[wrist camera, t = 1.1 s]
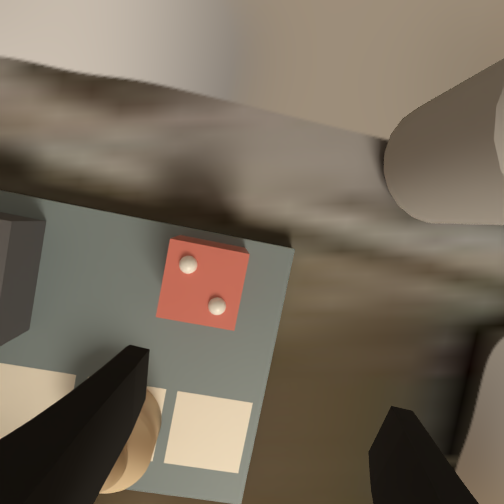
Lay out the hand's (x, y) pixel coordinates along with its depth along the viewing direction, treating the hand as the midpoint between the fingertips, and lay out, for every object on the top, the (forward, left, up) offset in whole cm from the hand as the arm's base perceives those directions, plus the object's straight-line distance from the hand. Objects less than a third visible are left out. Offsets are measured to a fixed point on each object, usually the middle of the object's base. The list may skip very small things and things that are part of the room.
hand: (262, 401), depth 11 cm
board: (-4, +11, -13) cm, 17 cm away
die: (+2, +3, -12) cm, 12 cm away
